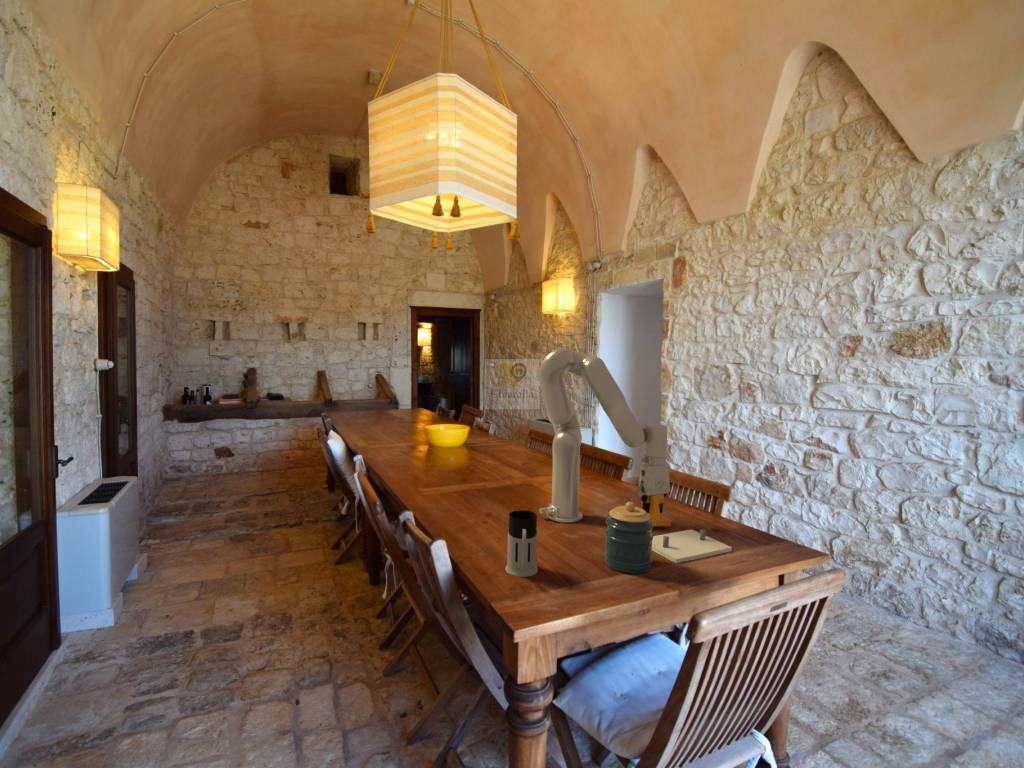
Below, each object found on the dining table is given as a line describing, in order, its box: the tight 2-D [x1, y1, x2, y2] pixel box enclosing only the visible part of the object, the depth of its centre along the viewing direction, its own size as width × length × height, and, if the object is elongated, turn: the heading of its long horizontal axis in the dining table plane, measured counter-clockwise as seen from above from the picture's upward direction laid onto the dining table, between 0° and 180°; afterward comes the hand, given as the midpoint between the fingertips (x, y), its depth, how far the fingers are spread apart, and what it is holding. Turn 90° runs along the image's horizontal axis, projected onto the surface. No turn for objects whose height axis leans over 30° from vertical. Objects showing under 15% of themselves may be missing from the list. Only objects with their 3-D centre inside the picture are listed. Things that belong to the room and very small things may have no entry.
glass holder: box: [504, 509, 538, 578], centre depth 129 cm, size 9×14×15 cm, turn 2°
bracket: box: [636, 494, 672, 527], centre depth 168 cm, size 11×7×12 cm, turn 22°
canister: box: [603, 501, 655, 574], centre depth 136 cm, size 13×13×18 cm
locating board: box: [652, 528, 733, 564], centre depth 149 cm, size 22×16×4 cm
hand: (652, 512), depth 168 cm, fingers closed on bracket, 4 cm apart
